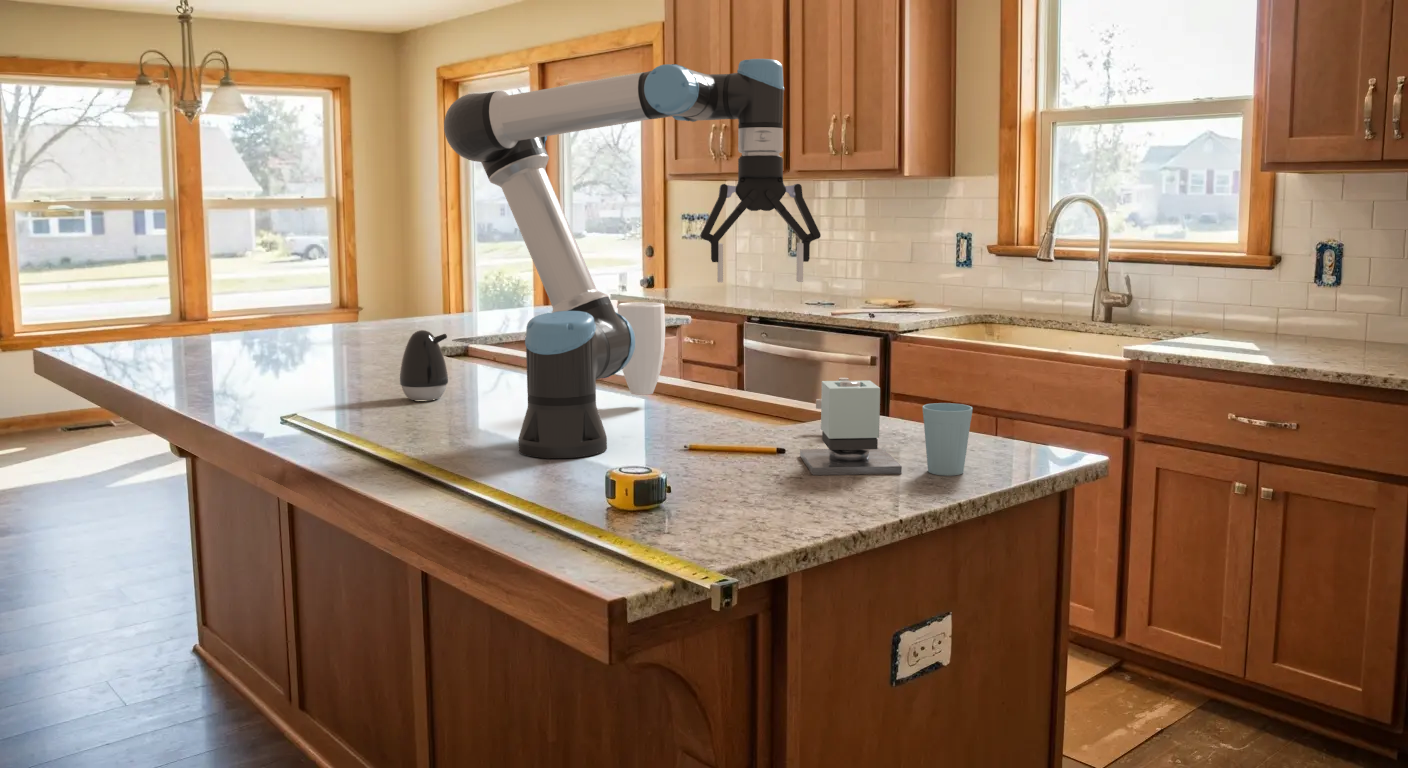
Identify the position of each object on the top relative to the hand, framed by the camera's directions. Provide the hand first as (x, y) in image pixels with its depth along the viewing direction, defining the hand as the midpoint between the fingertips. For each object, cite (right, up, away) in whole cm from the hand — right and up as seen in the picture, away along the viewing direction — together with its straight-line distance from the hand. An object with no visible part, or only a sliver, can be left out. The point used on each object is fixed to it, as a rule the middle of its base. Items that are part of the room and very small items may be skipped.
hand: (760, 281), depth 201 cm
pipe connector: (+16, -26, +18) cm, 36 cm away
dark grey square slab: (+14, -26, -10) cm, 32 cm away
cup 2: (-23, -22, +46) cm, 56 cm away
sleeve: (+14, -25, -10) cm, 31 cm away
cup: (+28, -31, -15) cm, 45 cm away
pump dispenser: (-70, -21, +56) cm, 92 cm away
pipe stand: (+14, -30, -10) cm, 35 cm away
